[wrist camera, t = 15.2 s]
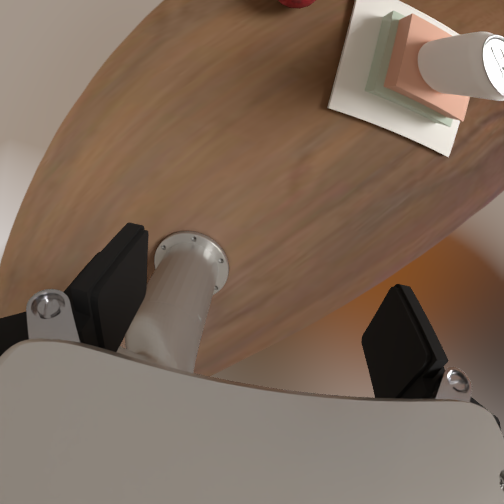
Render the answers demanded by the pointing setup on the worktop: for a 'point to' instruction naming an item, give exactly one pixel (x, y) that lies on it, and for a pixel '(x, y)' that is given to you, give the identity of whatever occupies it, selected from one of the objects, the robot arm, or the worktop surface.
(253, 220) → the worktop surface
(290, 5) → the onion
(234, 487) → the robot arm
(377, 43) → the tiered block pedestal
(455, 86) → the can
